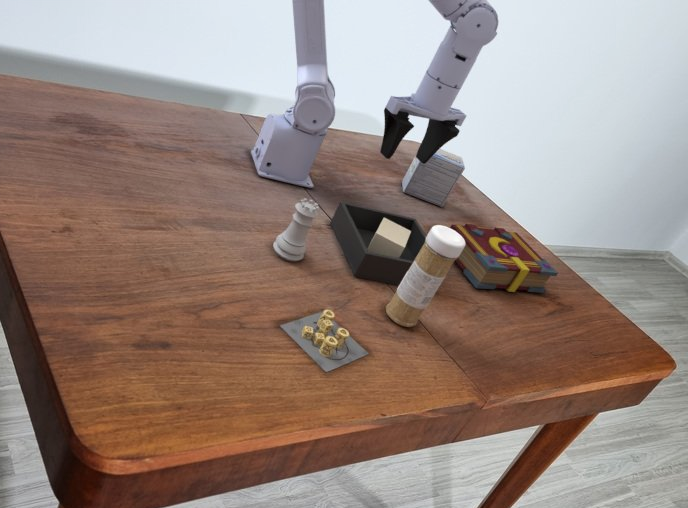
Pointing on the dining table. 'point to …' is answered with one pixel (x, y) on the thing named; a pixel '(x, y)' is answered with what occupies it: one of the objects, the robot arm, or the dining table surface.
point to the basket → (357, 233)
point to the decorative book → (501, 260)
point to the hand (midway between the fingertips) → (402, 158)
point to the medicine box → (433, 177)
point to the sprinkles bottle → (425, 275)
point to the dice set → (324, 340)
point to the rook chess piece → (296, 232)
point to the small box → (389, 239)
